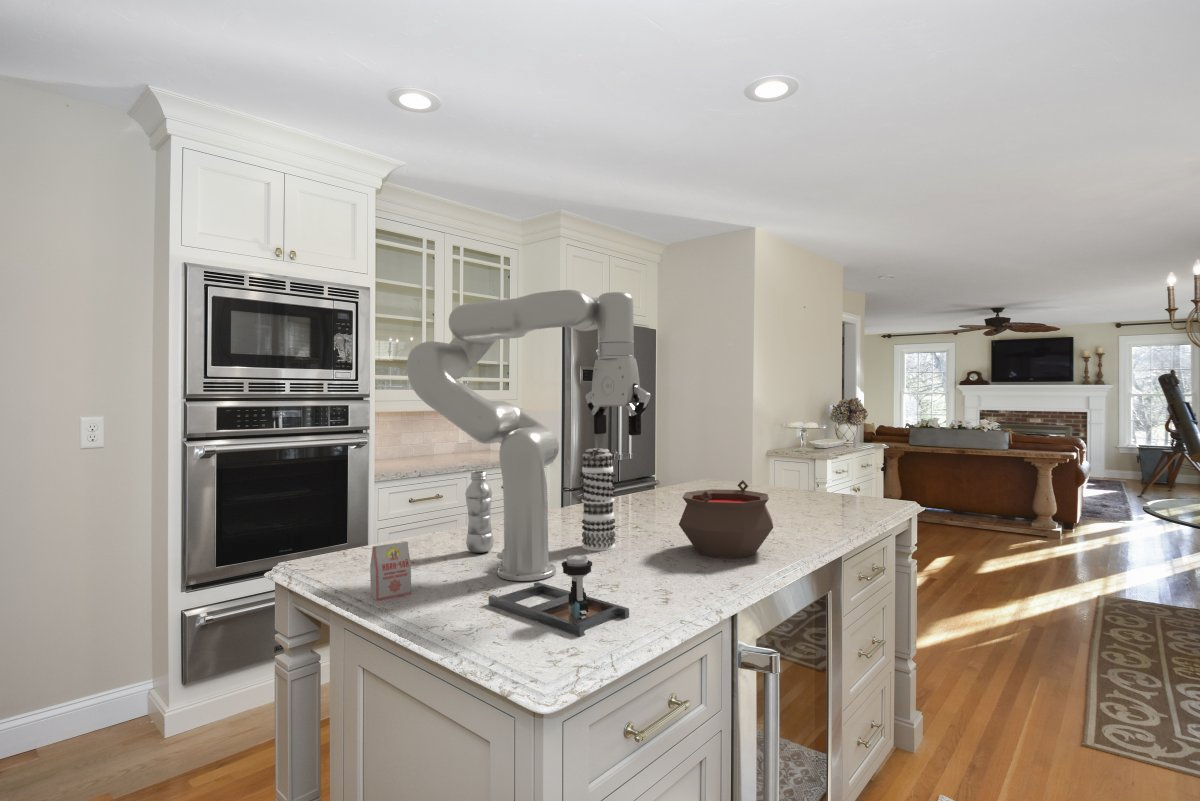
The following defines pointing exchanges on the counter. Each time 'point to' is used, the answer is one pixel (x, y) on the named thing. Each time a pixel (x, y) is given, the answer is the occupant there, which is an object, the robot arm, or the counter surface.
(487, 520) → the plastic bottle
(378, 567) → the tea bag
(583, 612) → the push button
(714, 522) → the brown cauldron
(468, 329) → the robot arm
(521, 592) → the rail
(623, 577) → the counter surface
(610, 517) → the decorative candle
